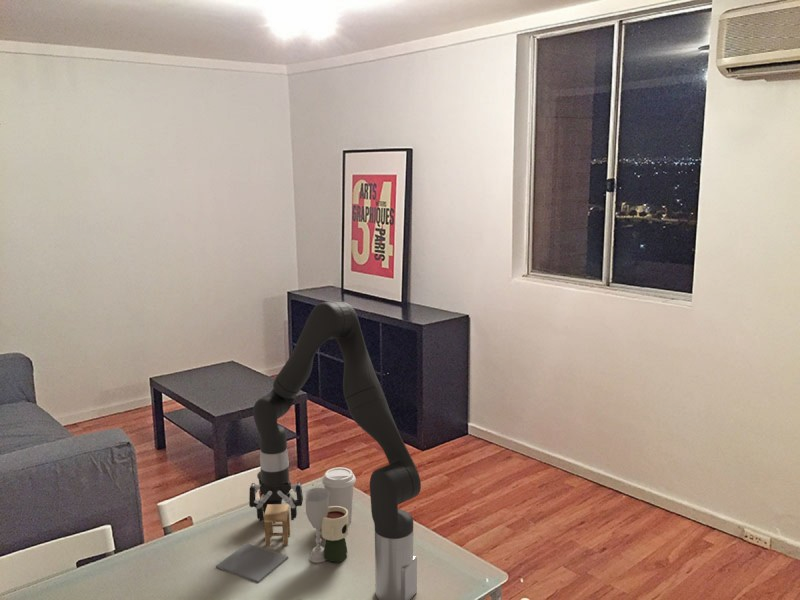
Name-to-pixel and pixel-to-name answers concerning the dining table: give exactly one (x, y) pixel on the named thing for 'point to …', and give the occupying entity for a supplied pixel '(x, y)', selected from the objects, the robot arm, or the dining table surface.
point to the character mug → (335, 533)
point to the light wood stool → (277, 515)
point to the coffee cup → (340, 488)
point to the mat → (252, 562)
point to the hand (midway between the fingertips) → (277, 519)
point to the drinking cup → (267, 499)
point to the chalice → (317, 517)
